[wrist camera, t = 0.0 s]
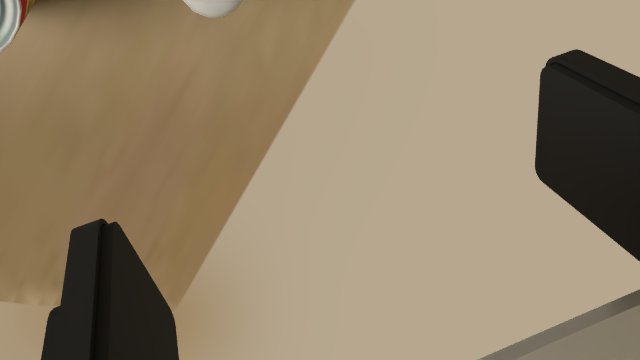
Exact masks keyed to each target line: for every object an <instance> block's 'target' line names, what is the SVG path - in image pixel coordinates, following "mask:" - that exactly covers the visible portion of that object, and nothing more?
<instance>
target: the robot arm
mask: <svg viewBox="0 0 640 360" xmlns="http://www.w3.org/2000/svg"><path fill="white" fill-rule="evenodd" d="M535 170H536V173H537V175H538V177H539V179H540V180H541V181H542V182H543V183H544V184H546V185H547V186H548V187H549V188H551V189H552V190H553V191H554V192H556V193H557V194H558V195H559V196H560V197H562V198H563V199H564V200H565V201H567V202H568V203H569V204H570V205H571V206H573V207H574V208H575V209H576V210H577V211H579V212H580V213H581V214H582V215H584V216H585V217H586V218H587V219H588V220H590V221H591V222H592V223H593V224H595V225H596V226H597V227H598V228H599V229H601V230H602V231H603V232H604V233H606V234H607V235H608V236H609V237H610V238H612V239H613V240H614V241H615V242H617V243H618V244H619V245H620V246H622V247H623V248H624V249H625V250H626V251H628V252H629V253H630V254H631V255H633V256H634V257H635V258H636V259H637V260H639V261H640V77H638V76H635V75H633V74H631V73H629V72H627V71H625V70H622V69H620V68H618V67H616V66H614V65H612V64H609V63H607V62H605V61H603V60H600V59H598V58H596V57H594V56H592V55H590V54H588V53H585V52H583V51H581V50H572V51H569V52H566V53H564V54H561V55H558V56H555V57H552V58H551V59H549V60H548V61H547V63H546V66H545V67H544V68H543V69H542V72H541V75H540V91H539V107H538V124H537V141H536V158H535ZM41 360H179V356H178V346H177V336H176V326H175V321H174V317H173V314H172V312H171V309H170V307H169V306H168V304H167V302H166V301H165V299H164V297H163V296H162V294H161V293H160V291H159V289H158V288H157V286H156V284H155V283H154V281H153V279H152V278H151V276H150V274H149V273H148V271H147V269H146V268H145V266H144V265H143V263H142V261H141V260H140V258H139V256H138V255H137V253H136V251H135V250H134V248H133V246H132V245H131V243H130V242H129V240H128V238H127V237H126V235H125V233H124V232H123V230H122V228H121V227H120V225H119V224H118V223H117V222H113V223H110V224H108V223H107V222H106V221H105V220H104V219H99V220H96V221H93V222H91V223H88V224H85V225H82V226H79V227H77V228H74V229H73V230H72V231H71V235H70V242H69V249H68V256H67V263H66V270H65V277H64V284H63V291H62V298H61V305H60V306H58V307H56V308H54V309H53V310H52V311H51V312H50V314H49V317H48V321H47V326H46V333H45V339H44V345H43V351H42V357H41ZM478 360H640V290H638V291H635V292H633V293H631V294H628V295H626V296H624V297H621V298H619V299H617V300H615V301H612V302H610V303H607V304H605V305H603V306H601V307H598V308H596V309H593V310H591V311H589V312H587V313H584V314H582V315H580V316H577V317H575V318H573V319H570V320H568V321H566V322H564V323H561V324H559V325H557V326H554V327H552V328H550V329H547V330H545V331H543V332H541V333H538V334H536V335H533V336H531V337H529V338H527V339H524V340H522V341H520V342H517V343H515V344H513V345H510V346H508V347H506V348H504V349H502V350H499V351H497V352H494V353H492V354H490V355H487V356H485V357H483V358H481V359H478Z"/></svg>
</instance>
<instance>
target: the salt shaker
mask: <svg viewBox="0 0 640 360" xmlns="http://www.w3.org/2000/svg"><path fill="white" fill-rule="evenodd" d="M183 1H184V2H185V3H186V4H187V5H188V6H189V7H190V8H191V9H192V10H193V11H194V12H195V13H198V14H201V15H203V16H206V17H209V18H213V17H224V16H226V15H228V14H229V13H231V12H233V11H234V10H236V9H237V8H238V6H239V5H240V3H241V2H242V0H183Z"/></svg>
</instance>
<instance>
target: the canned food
mask: <svg viewBox="0 0 640 360" xmlns="http://www.w3.org/2000/svg"><path fill="white" fill-rule="evenodd" d="M35 1H36V0H0V53H1V52H2V51H3V50H4V49H5V48H6V47H7V46H8V45H9V44H10V43H11V42H12V41H13V39H14V37H15V36H16V34H17V32H18V30H19V29H20V27H21V25H22V23H23V22H24V20H25V18H26V16H27V15H28V13H29V11H30V9H31V8H32V6H33V4H34V2H35Z"/></svg>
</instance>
